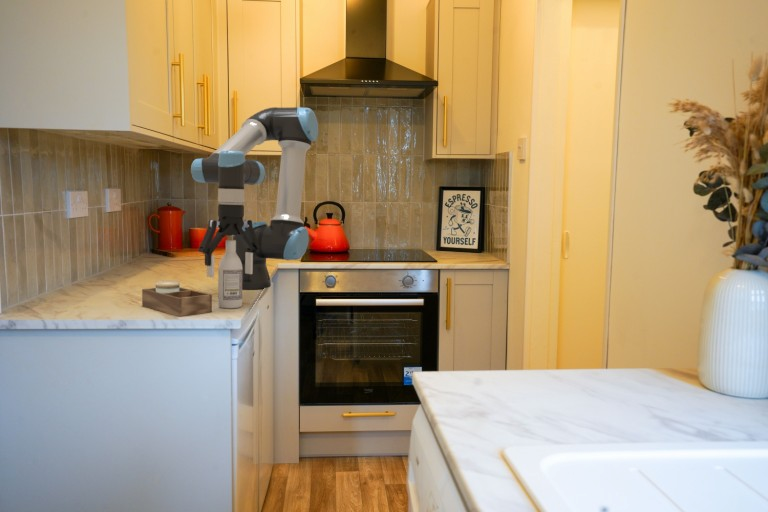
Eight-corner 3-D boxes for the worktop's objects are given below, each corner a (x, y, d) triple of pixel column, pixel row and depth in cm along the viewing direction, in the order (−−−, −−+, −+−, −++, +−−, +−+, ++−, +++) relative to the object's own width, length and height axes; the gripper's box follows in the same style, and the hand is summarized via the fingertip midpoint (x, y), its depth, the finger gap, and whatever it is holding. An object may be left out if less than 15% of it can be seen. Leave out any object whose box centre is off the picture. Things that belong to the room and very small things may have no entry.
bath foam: (246, 307, 198) (247, 240, 196) (226, 309, 193) (227, 241, 191) (233, 303, 203) (234, 238, 200) (213, 306, 197) (214, 239, 195)
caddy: (174, 302, 202) (174, 285, 201) (211, 312, 189) (211, 294, 188) (142, 305, 194) (142, 289, 194) (179, 316, 181) (179, 298, 180)
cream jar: (171, 300, 199) (171, 280, 199) (184, 303, 195) (184, 282, 194) (151, 302, 194) (150, 281, 194) (163, 306, 190) (163, 284, 189)
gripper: (257, 203, 206) (256, 271, 208) (186, 202, 188) (185, 276, 190) (272, 204, 201) (271, 273, 203) (201, 203, 183) (200, 279, 185)
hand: (230, 275), depth 196 cm, fingers open, 13 cm apart
